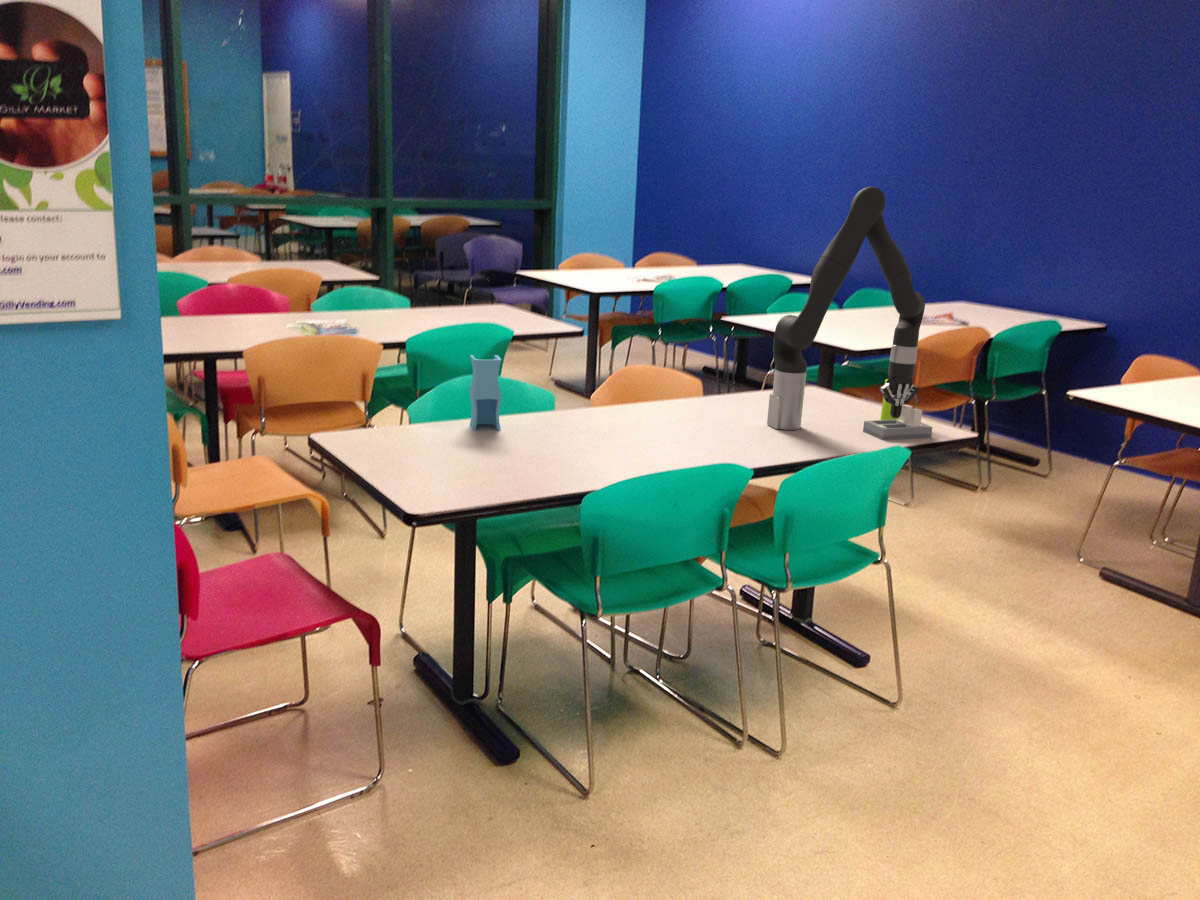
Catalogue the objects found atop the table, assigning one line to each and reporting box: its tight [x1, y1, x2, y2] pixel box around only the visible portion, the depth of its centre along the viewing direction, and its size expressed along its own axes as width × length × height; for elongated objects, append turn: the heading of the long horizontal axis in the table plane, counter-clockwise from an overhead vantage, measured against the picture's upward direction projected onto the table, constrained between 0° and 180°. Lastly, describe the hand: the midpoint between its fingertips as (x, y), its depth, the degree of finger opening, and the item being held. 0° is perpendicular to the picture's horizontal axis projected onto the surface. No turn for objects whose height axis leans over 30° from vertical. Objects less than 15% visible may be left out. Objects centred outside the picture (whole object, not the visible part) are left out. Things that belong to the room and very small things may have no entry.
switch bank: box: [862, 419, 933, 441], centre depth 306 cm, size 17×10×3 cm, turn 110°
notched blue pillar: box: [469, 354, 503, 432], centre depth 289 cm, size 8×8×20 cm
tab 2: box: [905, 408, 923, 427], centre depth 305 cm, size 4×3×7 cm
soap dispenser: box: [879, 378, 899, 420], centre depth 319 cm, size 6×7×20 cm
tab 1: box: [896, 404, 914, 423], centre depth 309 cm, size 4×3×7 cm
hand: (895, 417), depth 308 cm, fingers closed
